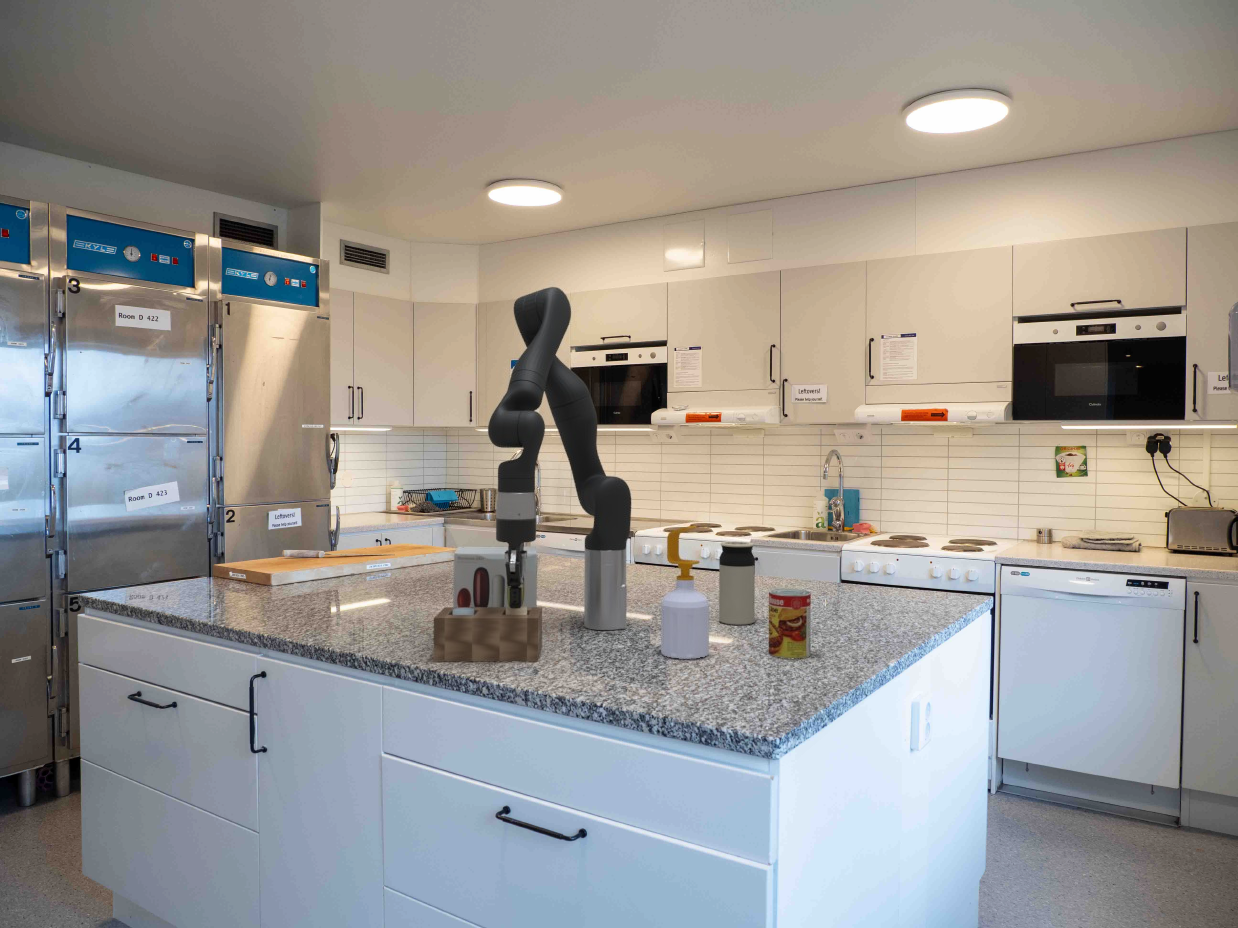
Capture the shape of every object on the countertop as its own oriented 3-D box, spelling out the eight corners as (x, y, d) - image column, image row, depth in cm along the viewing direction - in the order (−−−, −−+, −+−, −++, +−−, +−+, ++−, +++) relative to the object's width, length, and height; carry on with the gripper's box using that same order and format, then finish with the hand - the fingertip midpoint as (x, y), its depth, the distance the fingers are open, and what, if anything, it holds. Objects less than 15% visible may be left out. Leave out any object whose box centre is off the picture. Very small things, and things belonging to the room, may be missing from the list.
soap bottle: (695, 662, 153) (696, 528, 153) (652, 655, 158) (652, 525, 158) (716, 652, 161) (717, 524, 161) (674, 646, 166) (675, 522, 166)
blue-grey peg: (475, 646, 161) (475, 607, 161) (472, 651, 157) (472, 611, 157) (454, 646, 161) (454, 607, 160) (450, 651, 157) (450, 611, 156)
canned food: (765, 649, 164) (766, 588, 164) (806, 649, 164) (806, 588, 164) (771, 659, 156) (772, 594, 156) (814, 659, 156) (814, 595, 156)
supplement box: (451, 642, 169) (451, 552, 169) (456, 628, 183) (456, 545, 182) (537, 640, 171) (537, 552, 171) (536, 627, 185) (536, 545, 184)
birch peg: (527, 644, 161) (527, 605, 161) (525, 649, 157) (526, 609, 157) (506, 644, 161) (507, 605, 161) (504, 649, 157) (504, 609, 157)
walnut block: (542, 647, 164) (542, 607, 164) (537, 661, 153) (538, 617, 153) (444, 647, 164) (444, 607, 164) (433, 661, 153) (433, 617, 153)
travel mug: (738, 627, 185) (739, 545, 185) (711, 621, 191) (712, 542, 191) (761, 622, 190) (762, 543, 190) (734, 617, 196) (735, 540, 196)
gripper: (533, 518, 152) (532, 614, 152) (538, 513, 165) (538, 601, 165) (491, 518, 152) (491, 613, 152) (500, 513, 165) (500, 601, 165)
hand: (515, 607), depth 159 cm, fingers closed
